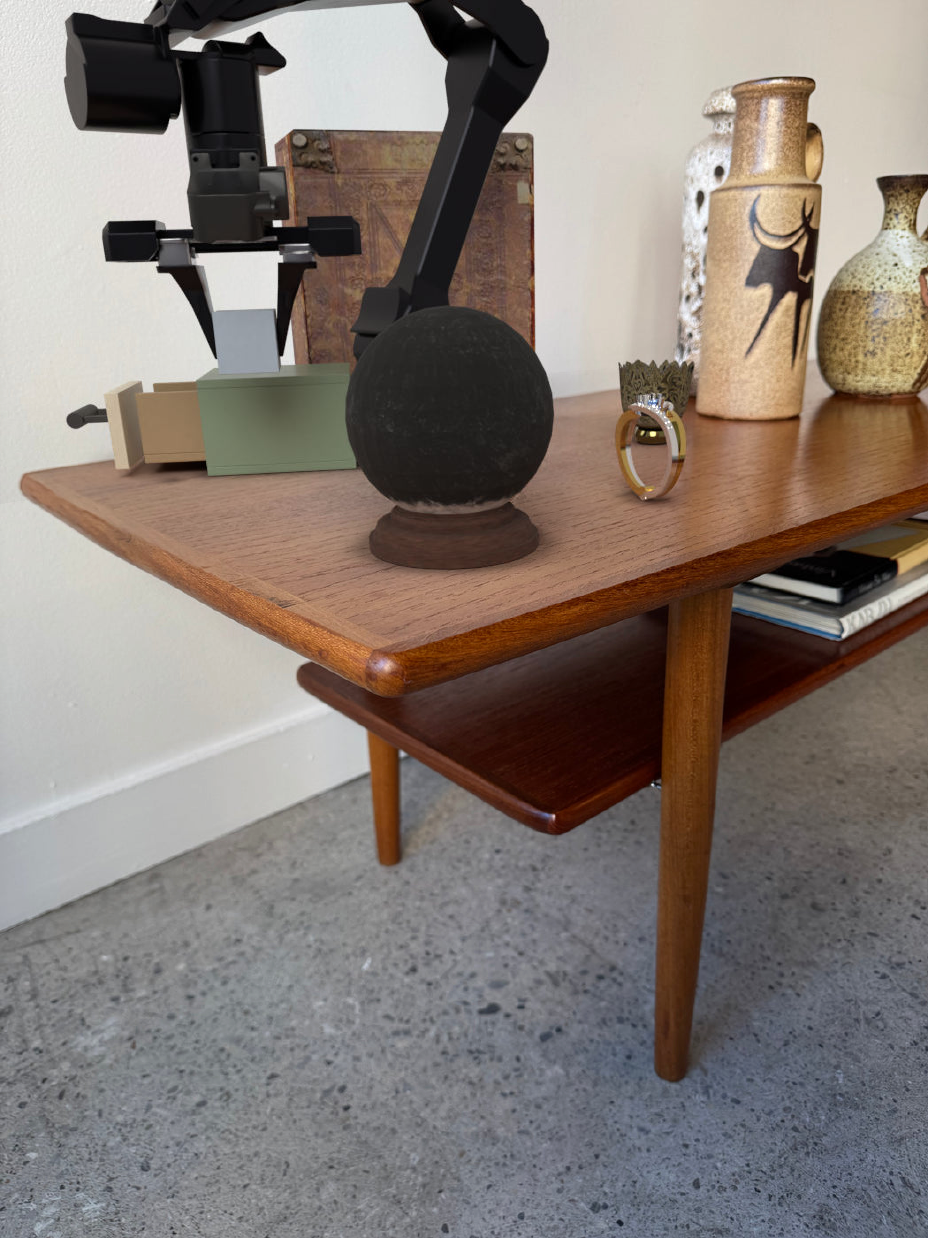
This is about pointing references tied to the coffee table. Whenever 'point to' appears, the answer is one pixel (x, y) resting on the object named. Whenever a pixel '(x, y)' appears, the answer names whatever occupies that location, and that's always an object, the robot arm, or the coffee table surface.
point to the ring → (673, 437)
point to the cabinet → (276, 420)
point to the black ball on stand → (450, 436)
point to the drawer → (149, 423)
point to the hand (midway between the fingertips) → (249, 357)
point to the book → (403, 229)
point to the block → (246, 341)
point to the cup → (655, 380)
